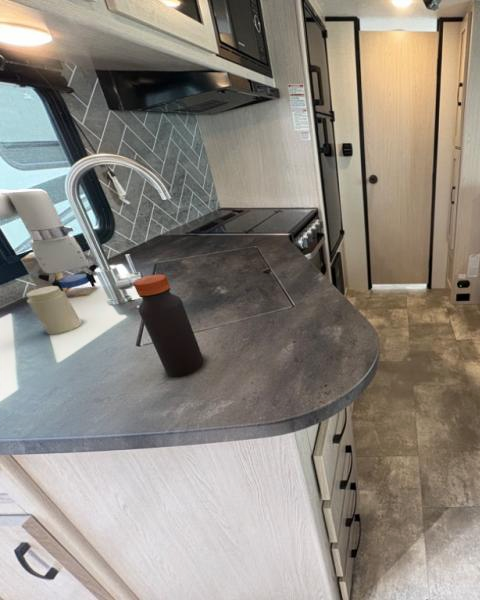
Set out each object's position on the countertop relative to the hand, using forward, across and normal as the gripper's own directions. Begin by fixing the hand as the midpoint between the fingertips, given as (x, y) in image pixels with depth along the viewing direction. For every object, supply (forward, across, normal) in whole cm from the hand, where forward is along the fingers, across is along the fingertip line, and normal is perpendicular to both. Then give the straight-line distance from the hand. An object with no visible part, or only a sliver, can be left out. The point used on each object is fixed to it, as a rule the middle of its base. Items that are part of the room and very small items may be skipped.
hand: (77, 288), depth 100 cm
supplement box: (+2, +5, -6) cm, 8 cm away
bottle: (+2, -13, +68) cm, 70 cm away
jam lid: (-3, 0, 0) cm, 3 cm away
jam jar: (+2, +4, +26) cm, 27 cm away
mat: (+2, 0, 0) cm, 2 cm away
